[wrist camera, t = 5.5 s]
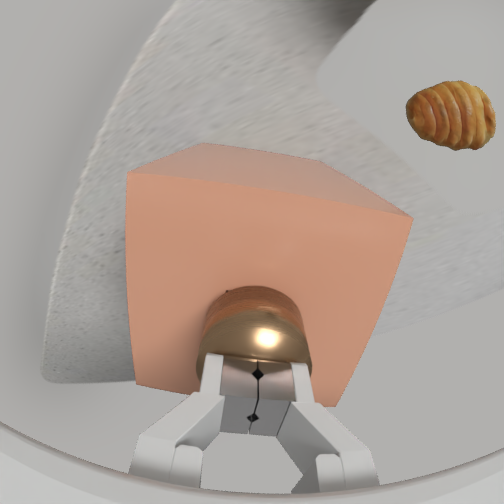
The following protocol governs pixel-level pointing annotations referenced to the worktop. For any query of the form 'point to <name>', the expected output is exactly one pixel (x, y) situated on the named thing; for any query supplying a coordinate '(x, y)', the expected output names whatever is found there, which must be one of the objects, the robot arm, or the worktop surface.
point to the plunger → (254, 328)
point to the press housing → (254, 256)
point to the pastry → (452, 115)
